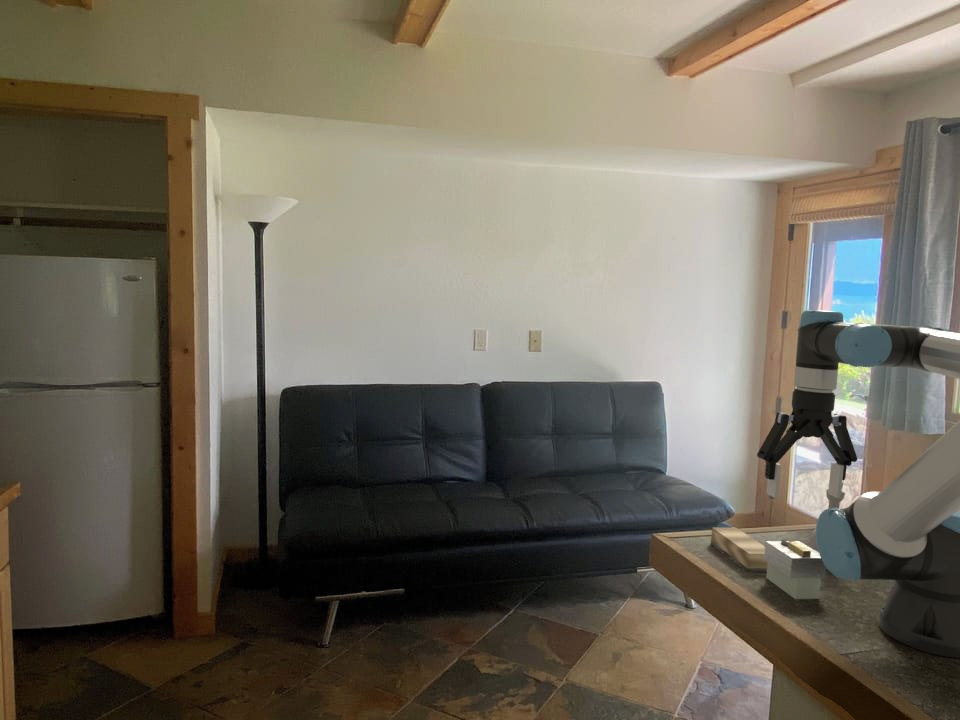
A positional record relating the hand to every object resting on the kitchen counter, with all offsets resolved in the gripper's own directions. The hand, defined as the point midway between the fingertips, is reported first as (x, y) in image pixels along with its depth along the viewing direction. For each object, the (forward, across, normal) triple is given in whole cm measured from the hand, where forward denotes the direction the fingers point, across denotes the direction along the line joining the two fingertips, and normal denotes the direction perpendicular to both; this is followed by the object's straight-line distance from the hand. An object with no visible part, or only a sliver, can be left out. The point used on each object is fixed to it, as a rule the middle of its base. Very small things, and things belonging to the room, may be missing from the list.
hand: (803, 495), depth 136 cm
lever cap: (+15, 0, 0) cm, 15 cm away
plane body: (+19, +2, -16) cm, 25 cm away
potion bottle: (+19, -18, -14) cm, 29 cm away
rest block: (+19, 0, 0) cm, 19 cm away
